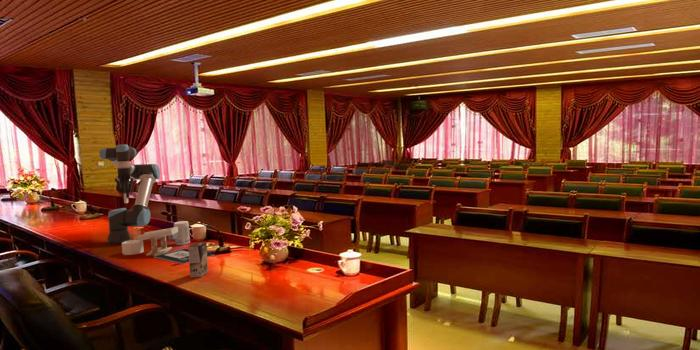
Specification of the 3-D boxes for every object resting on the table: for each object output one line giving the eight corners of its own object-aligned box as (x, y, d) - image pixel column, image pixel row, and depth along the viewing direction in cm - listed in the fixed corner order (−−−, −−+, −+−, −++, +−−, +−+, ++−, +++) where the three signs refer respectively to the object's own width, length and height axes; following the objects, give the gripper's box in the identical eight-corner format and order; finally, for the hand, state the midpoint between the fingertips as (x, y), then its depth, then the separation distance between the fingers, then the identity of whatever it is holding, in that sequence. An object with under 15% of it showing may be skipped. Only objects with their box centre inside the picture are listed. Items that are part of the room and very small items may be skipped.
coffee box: (202, 277, 234) (200, 246, 233) (189, 277, 234) (187, 246, 233) (208, 271, 243) (206, 241, 242) (196, 272, 244) (194, 242, 242)
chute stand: (172, 248, 300) (171, 232, 300) (160, 255, 283) (159, 238, 283) (158, 248, 301) (157, 232, 300) (146, 255, 284) (145, 238, 283)
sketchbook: (183, 265, 261) (183, 261, 261) (152, 258, 278) (152, 255, 278) (214, 256, 279) (214, 252, 279) (183, 250, 296) (183, 247, 296)
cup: (128, 250, 298) (128, 239, 298) (146, 250, 298) (145, 239, 298) (119, 255, 287) (118, 244, 287) (137, 254, 287) (136, 243, 286)
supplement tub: (187, 241, 321) (185, 220, 319) (192, 243, 313) (190, 222, 312) (173, 243, 314) (171, 222, 313) (177, 246, 307) (176, 224, 306)
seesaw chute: (184, 233, 304) (182, 223, 303) (172, 239, 286) (170, 229, 285) (151, 239, 305) (149, 229, 304) (137, 245, 287) (135, 235, 286)
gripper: (111, 168, 304) (113, 204, 306) (130, 167, 304) (133, 203, 306) (117, 167, 312) (119, 202, 313) (136, 167, 311) (138, 201, 313)
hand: (126, 202), depth 310 cm, fingers closed
